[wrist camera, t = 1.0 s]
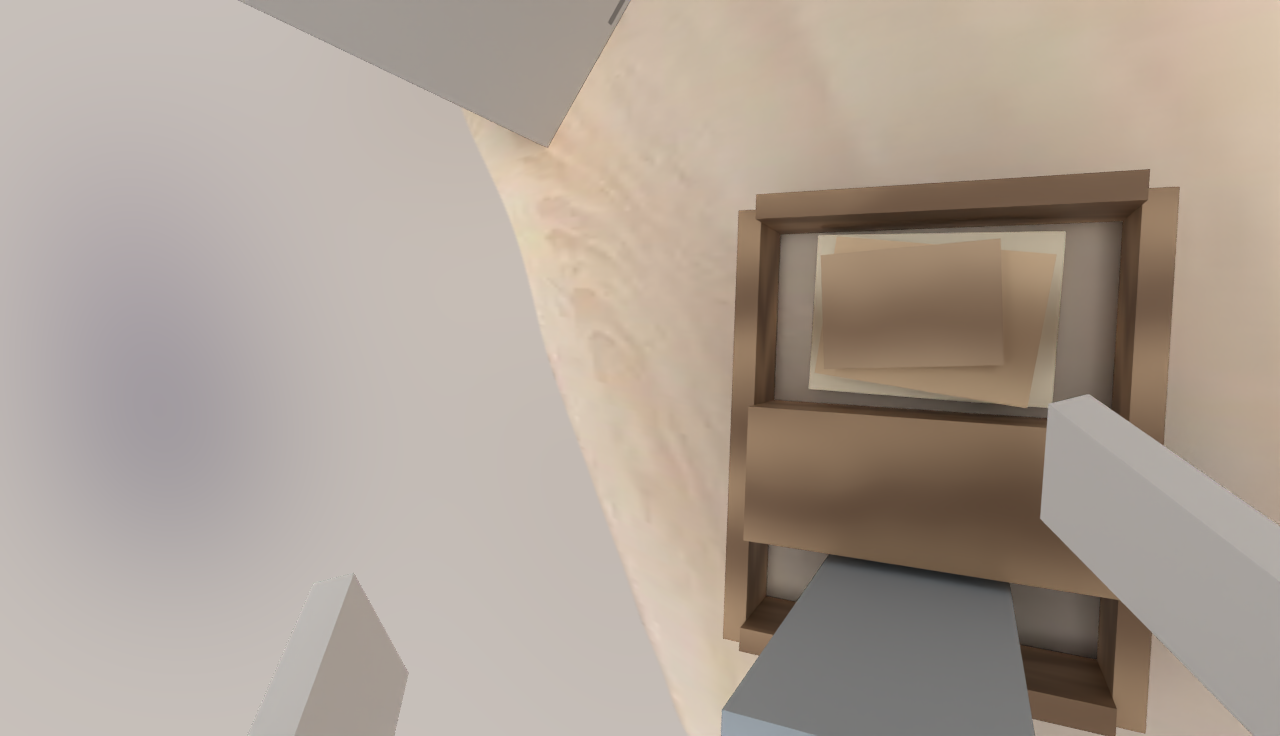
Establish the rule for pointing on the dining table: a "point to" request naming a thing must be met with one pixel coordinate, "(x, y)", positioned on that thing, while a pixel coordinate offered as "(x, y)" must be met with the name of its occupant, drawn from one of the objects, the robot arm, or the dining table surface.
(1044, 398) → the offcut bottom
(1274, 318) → the dining table surface
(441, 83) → the brochure
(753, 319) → the tray
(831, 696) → the grey rectangular block
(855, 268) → the offcut top
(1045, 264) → the plate
